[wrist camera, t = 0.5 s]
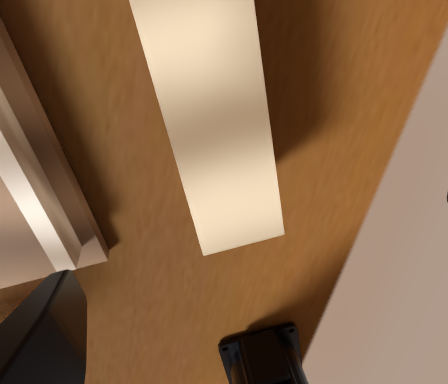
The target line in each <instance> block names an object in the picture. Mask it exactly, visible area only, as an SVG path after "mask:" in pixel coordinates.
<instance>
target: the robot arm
mask: <svg viewBox="0 0 448 384" xmlns="http://www.w3.org/2000/svg"><path fill="white" fill-rule="evenodd" d="M447 202H448V195H447ZM218 348H219V353H220V356H221V359H222V362H223V365H224V368H225V371H226V374H227V378H228V381H229V384H308V381H307V379H306V376H305V373H304V371H303V368H302V361H301V353H300V346H299V338H298V330H297V327H296V325H295V323H292V322H291V323H286V324H283V325H279V326H276V327H272V328H268V329H265V330H261V331H258V332H254V333H250V334H247V335H243V336H239V337H236V338H232V339H229V340H225V341H222V342H220V343H219V344H218ZM86 353H87V299H86V296H85V293H84V292H83V290H82V288H81V286H80V284H79V282H78V281H77V279H76V277H75V275H74V273H73V272H72V271H71V270H68V269H66V270H62V271H58V272H54V273H51V274H50V275H48V276H47V277H46V278H45V279H44V281H43V282H42V283H41V284H40V285H39V286H38V287H37V288H36V289H35V290H34V291H33V292H32V293H31V294H30V295H29V296H28V297H27V298H26V299H25V300H24V301H23V302H22V303H21V304H20V305H19V306H18V307H17V308H16V309H15V310H14V311H13V312H12V313H11V314H10V315H9V316H8V317H7V318H6V319H5V320H4V321H3V322H2V323H1V324H0V384H84V382H85V373H86Z"/></svg>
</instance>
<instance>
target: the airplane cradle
mask: <svg viewBox="0 0 448 384" xmlns="http://www.w3.org/2000/svg"><path fill="white" fill-rule="evenodd" d="M108 255H109V249H108V247H107V245H106V242H105V240H104V238H103V236H102V234H101V232H100V229H99V227H98V225H97V223H96V221H95V219H94V217H93V214H92V212H91V210H90V208H89V206H88V204H87V202H86V199H85V197H84V195H83V193H82V191H81V189H80V187H79V184H78V182H77V180H76V178H75V176H74V174H73V171H72V169H71V167H70V165H69V163H68V161H67V159H66V156H65V154H64V152H63V150H62V148H61V146H60V144H59V141H58V139H57V137H56V135H55V133H54V131H53V129H52V126H51V124H50V122H49V120H48V118H47V116H46V114H45V111H44V109H43V107H42V105H41V103H40V101H39V98H38V96H37V94H36V92H35V90H34V88H33V86H32V83H31V81H30V79H29V77H28V75H27V73H26V71H25V68H24V66H23V64H22V62H21V60H20V58H19V56H18V53H17V51H16V49H15V47H14V45H13V43H12V40H11V38H10V36H9V34H8V32H7V30H6V28H5V25H4V23H3V21H2V19H1V17H0V289H1V288H5V287H9V286H13V285H17V284H21V283H24V282H28V281H32V280H36V279H40V278H44V277H47V276H48V275H50V274H51V273H54V272H58V271H62V270H66V269H68V270H75V269H78V268H82V267H86V266H89V265H93V264H97V263H101V262H105V261H108Z"/></svg>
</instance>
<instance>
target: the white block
mask: <svg viewBox="0 0 448 384" xmlns="http://www.w3.org/2000/svg"><path fill="white" fill-rule="evenodd" d="M129 1H130V5H131V8H132V12H133V15H134V19H135V22H136V25H137V29H138V32H139V36H140V39H141V43H142V46H143V49H144V53H145V56H146V60H147V63H148V67H149V70H150V74H151V77H152V80H153V84H154V87H155V91H156V94H157V98H158V101H159V105H160V108H161V111H162V115H163V118H164V122H165V125H166V129H167V132H168V136H169V139H170V142H171V146H172V149H173V153H174V156H175V160H176V163H177V167H178V170H179V173H180V177H181V180H182V184H183V187H184V191H185V194H186V197H187V201H188V204H189V208H190V211H191V215H192V218H193V222H194V225H195V228H196V232H197V235H198V239H199V242H200V246H201V249H202V253H203V256H205V255H209V254H212V253H216V252H220V251H224V250H228V249H231V248H235V247H239V246H243V245H247V244H250V243H254V242H258V241H262V240H266V239H269V238H273V237H277V236H281V235H284V227H283V220H282V212H281V204H280V197H279V189H278V181H277V174H276V166H275V158H274V151H273V143H272V135H271V128H270V120H269V113H268V105H267V97H266V90H265V82H264V74H263V67H262V59H261V51H260V44H259V36H258V28H257V21H256V13H255V5H254V0H129Z"/></svg>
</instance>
